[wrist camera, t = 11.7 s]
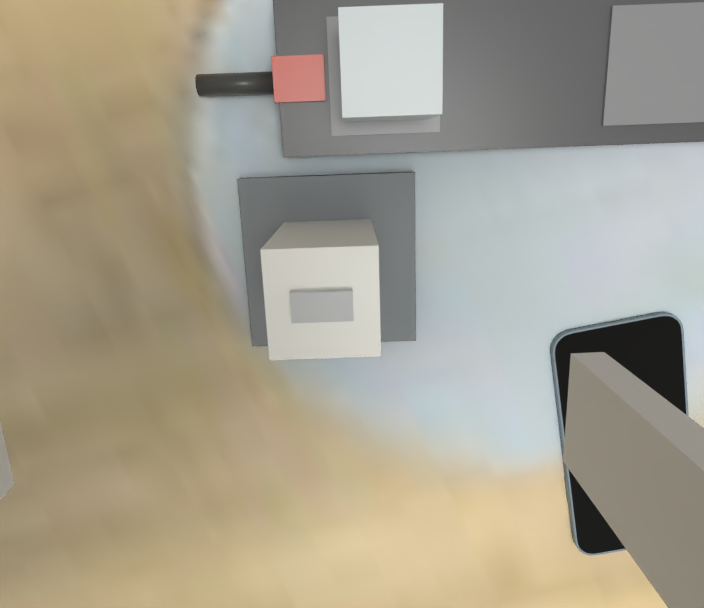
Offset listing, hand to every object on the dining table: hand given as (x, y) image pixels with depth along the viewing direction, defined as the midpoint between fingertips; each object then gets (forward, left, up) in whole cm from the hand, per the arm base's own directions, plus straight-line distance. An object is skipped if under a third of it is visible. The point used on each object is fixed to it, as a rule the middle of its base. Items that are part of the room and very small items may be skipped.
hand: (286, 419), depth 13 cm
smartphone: (+17, -11, -19) cm, 28 cm away
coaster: (0, 0, -19) cm, 18 cm away
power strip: (+7, +9, -18) cm, 22 cm away
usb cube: (+3, +9, -17) cm, 19 cm away
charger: (0, 0, -18) cm, 17 cm away
